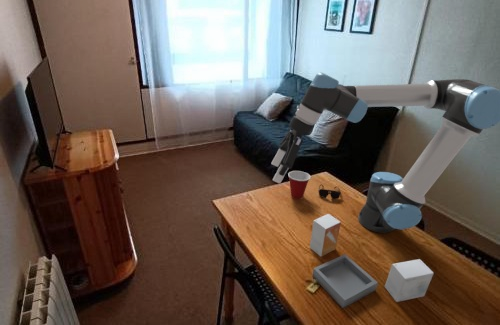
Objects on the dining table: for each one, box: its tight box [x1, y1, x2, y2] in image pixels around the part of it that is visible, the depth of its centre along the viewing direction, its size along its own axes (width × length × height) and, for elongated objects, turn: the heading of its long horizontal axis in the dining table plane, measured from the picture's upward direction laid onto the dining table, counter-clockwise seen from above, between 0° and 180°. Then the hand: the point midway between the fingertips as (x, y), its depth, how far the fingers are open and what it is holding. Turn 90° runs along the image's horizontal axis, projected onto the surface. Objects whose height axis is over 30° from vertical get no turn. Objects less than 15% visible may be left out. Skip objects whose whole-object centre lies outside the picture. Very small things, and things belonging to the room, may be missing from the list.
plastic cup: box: [287, 170, 312, 200], centre depth 145 cm, size 11×11×12 cm
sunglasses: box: [318, 184, 342, 200], centre depth 150 cm, size 10×12×5 cm
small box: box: [309, 213, 341, 258], centre depth 111 cm, size 8×6×13 cm
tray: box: [312, 254, 379, 309], centre depth 99 cm, size 14×14×4 cm
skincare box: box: [384, 258, 434, 303], centre depth 94 cm, size 10×6×10 cm, turn 103°
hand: (275, 173), depth 105 cm, fingers open, 13 cm apart
